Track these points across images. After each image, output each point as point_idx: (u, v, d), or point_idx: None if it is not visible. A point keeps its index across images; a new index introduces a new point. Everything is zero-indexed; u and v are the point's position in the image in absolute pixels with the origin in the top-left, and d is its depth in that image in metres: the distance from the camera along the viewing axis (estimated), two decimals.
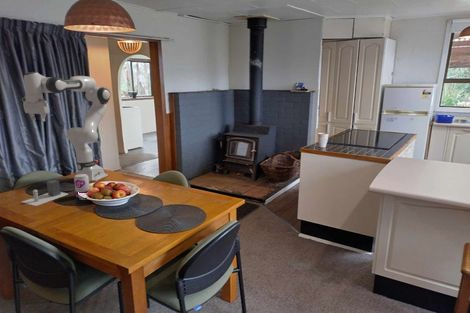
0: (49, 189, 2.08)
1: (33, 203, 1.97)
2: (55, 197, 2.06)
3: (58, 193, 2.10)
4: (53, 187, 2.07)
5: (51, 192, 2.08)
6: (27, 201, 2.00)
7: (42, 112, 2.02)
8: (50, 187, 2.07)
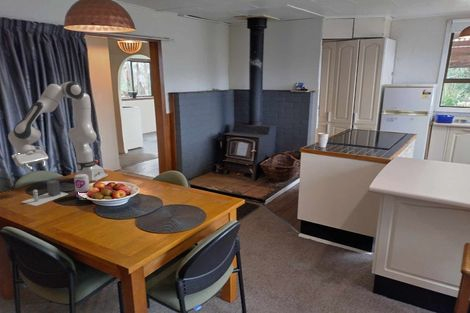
0: (49, 189, 2.08)
1: (33, 203, 1.97)
2: (55, 197, 2.06)
3: (58, 193, 2.10)
4: (53, 187, 2.07)
5: (51, 192, 2.08)
6: (27, 201, 2.00)
7: None
8: (50, 187, 2.07)
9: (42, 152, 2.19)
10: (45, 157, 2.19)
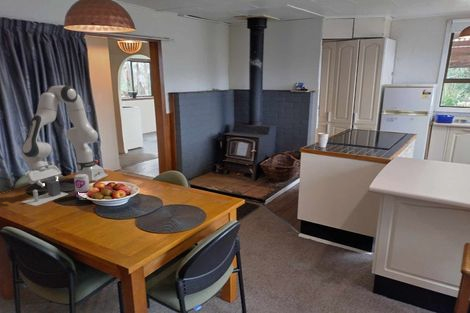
0: (49, 189, 2.08)
1: (33, 203, 1.97)
2: (55, 197, 2.06)
3: (58, 193, 2.10)
4: (53, 187, 2.07)
5: (51, 192, 2.08)
6: (27, 201, 2.00)
7: None
8: (50, 187, 2.07)
9: (55, 167, 2.17)
10: (58, 172, 2.16)
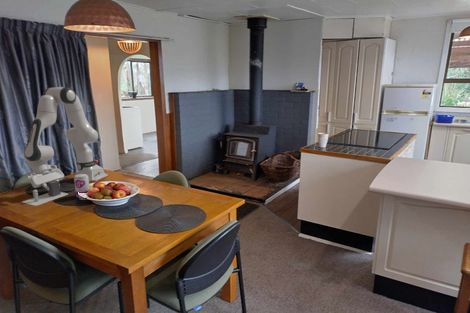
0: None
1: (33, 203, 1.97)
2: (55, 197, 2.06)
3: (58, 193, 2.10)
4: (53, 187, 2.07)
5: (51, 192, 2.08)
6: (27, 201, 2.00)
7: None
8: (50, 187, 2.07)
9: (58, 171, 2.17)
10: (61, 176, 2.16)
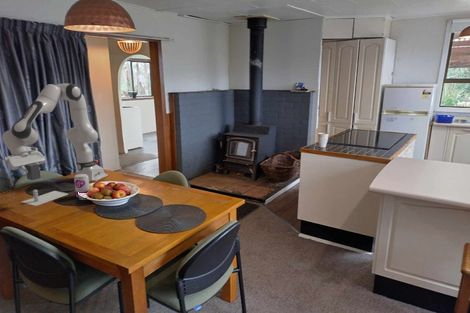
0: None
1: (33, 203, 1.97)
2: (55, 197, 2.06)
3: (38, 177, 1.97)
4: (32, 170, 1.94)
5: (30, 175, 1.94)
6: (27, 201, 2.00)
7: None
8: (29, 170, 1.94)
9: (38, 153, 2.04)
10: (42, 159, 2.03)
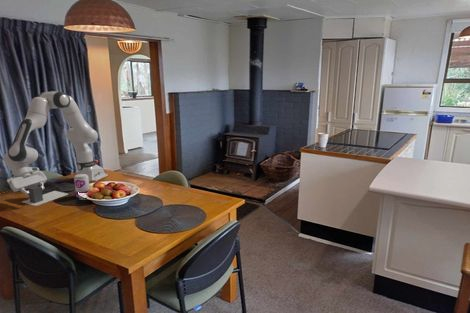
0: (30, 195, 1.98)
1: (33, 203, 1.97)
2: (55, 197, 2.06)
3: (40, 199, 2.00)
4: (34, 193, 1.96)
5: (33, 198, 1.97)
6: (27, 201, 2.00)
7: None
8: (31, 193, 1.97)
9: (40, 173, 2.06)
10: (43, 179, 2.05)
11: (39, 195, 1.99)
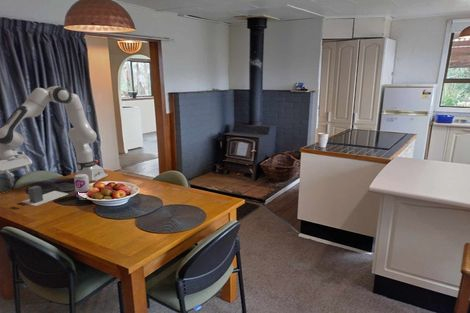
0: (30, 195, 1.98)
1: (33, 203, 1.97)
2: (55, 197, 2.06)
3: (40, 199, 2.00)
4: (34, 193, 1.96)
5: (33, 198, 1.97)
6: (27, 201, 2.00)
7: None
8: (31, 193, 1.97)
9: (25, 157, 2.10)
10: (28, 162, 2.09)
11: (39, 195, 1.99)
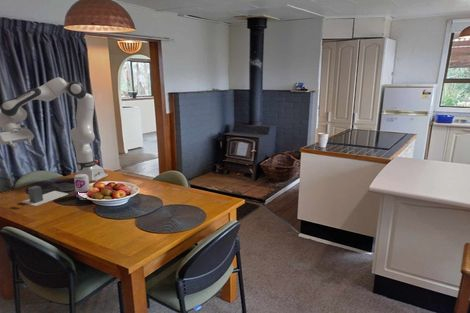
0: (30, 195, 1.98)
1: (33, 203, 1.97)
2: (55, 197, 2.06)
3: (40, 199, 2.00)
4: (34, 193, 1.96)
5: (33, 198, 1.97)
6: (27, 201, 2.00)
7: None
8: (31, 193, 1.97)
9: (28, 130, 2.20)
10: (31, 135, 2.20)
11: (39, 195, 1.99)
